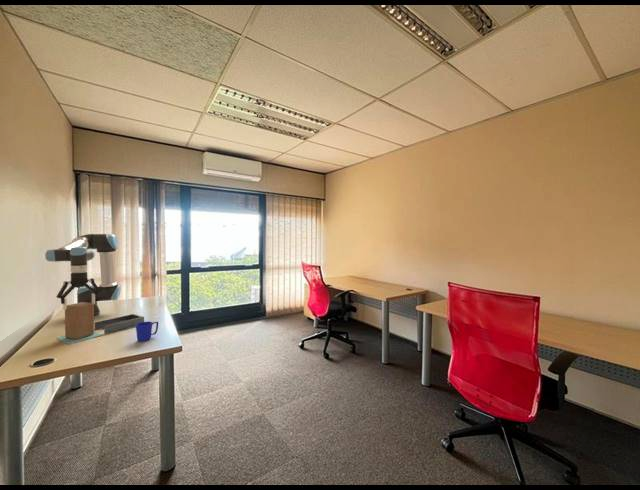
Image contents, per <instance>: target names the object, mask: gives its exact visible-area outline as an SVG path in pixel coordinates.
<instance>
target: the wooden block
mask: <svg viewBox="0 0 640 490" xmlns="http://www.w3.org/2000/svg"><path fill="white" fill-rule="evenodd" d="M94 322H95V316H94V304H93V303H85V302H80V303H77V302H76V303H72V304H67V309H64V334H65V335H64V336H65V337H66V338H70V339H80V338H83V337H86V336H89V335H92V334H94V332H95V330H94Z"/></svg>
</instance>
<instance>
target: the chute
mask: <svg viewBox="0 0 640 490" xmlns="http://www.w3.org/2000/svg"><path fill="white" fill-rule="evenodd" d="M141 322H145V316H142V315H138V314H135V313H132V314H126V315H122V316H121V315H120V316H117V317H113V318H109V319H104V320H99V321H96V322H95V321H94V331H98V330H102V329H103V330H104V333H103V334H104V335H107V334H111V333H115V332H119V331H122V330H126V329H129V328H134V327H136V324H138V323H141Z"/></svg>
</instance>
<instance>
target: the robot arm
mask: <svg viewBox="0 0 640 490" xmlns="http://www.w3.org/2000/svg"><path fill="white" fill-rule="evenodd" d="M118 248H119V241H118V237H117V236H116V235H115V234H113V233H111V234H110V233H88V234H83V235H80V236H78V237H75V238H72V241H70V242H68V243H66V244H65V245H63V246H60V247H59V248H57V249H56V248H55V249H47V250H46V252H45V255H44V256H45V260H46V261H47V262H53V263H55V262H57V263H58V262H59V263H60V262H70V281H63V283H62V284H63V285H62V286H61V288H60V289H59V291H58V293H57V295H56V299H60V303H61V305H62V307H63V308H62V309H63V310H65V309H67V305H68V304H67V303H68V302H67V301H68V299H67V296H69V295H70V293H71V292H72V291H73V290H74V289H77V288H78V289H77V291H76V303H80V302H85V303H93V304H94V317H95V316H100V314H101V309H100V307H99V305H98V302H109V301H116V300H118V299H119V297H120V295H121V290H122V286H121V285H119V284H118V282H117V281H116V273H115V270H116V269H115V257H114V255H115V252H116V250H117V249H118ZM94 250H96V252H97V254H99V265H100V267H99V268H100V278H101V279H100V281H101V283H99V285H97V284H96V282H95V279H94V278H89V279H88V272H87V271H88V261H91V260H93V259H94V258H95V255H96V254H95V251H94ZM88 283H90V284H91V285H89V284H88ZM69 285H70V286H69ZM68 286H69V288H67V287H68Z"/></svg>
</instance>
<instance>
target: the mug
mask: <svg viewBox="0 0 640 490" xmlns="http://www.w3.org/2000/svg"><path fill="white" fill-rule="evenodd" d="M154 324H156V326H155V331H154V332H153V331H152V329H153V325H154ZM158 329H159V321H153V322H152V321H144V322H141V323H138V324H136V326H135V331H136V339H137V341H138V342H140V343H141V342H142V343H144V342H147V341H149V340H151V339H152V336H154V335H156V334H157V333H158ZM152 332H153V333H152Z"/></svg>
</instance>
